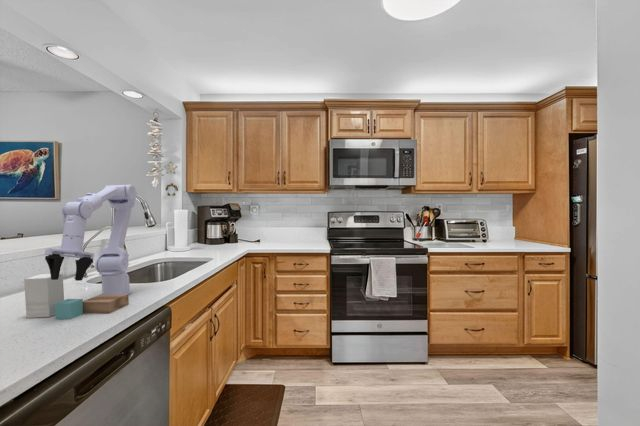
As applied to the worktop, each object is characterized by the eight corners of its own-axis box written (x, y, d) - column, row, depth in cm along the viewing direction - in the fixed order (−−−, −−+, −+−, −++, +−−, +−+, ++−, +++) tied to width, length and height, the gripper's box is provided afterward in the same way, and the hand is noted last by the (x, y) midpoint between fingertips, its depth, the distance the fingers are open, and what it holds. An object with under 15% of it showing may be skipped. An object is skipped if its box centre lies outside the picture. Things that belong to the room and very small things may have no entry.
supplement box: (65, 310, 117) (64, 272, 116) (49, 317, 109) (47, 277, 109) (43, 311, 117) (41, 273, 116) (25, 318, 109) (23, 278, 109)
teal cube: (68, 314, 113) (68, 298, 113) (83, 314, 112) (82, 298, 112) (55, 319, 108) (54, 303, 108) (70, 319, 107) (69, 303, 107)
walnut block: (101, 305, 123) (101, 294, 123) (128, 305, 122) (128, 294, 122) (80, 314, 113) (79, 302, 113) (109, 314, 112) (108, 302, 112)
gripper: (59, 233, 105) (51, 278, 102) (102, 239, 118) (97, 280, 115) (43, 234, 107) (35, 279, 104) (87, 241, 121) (82, 281, 117)
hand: (66, 280), depth 110 cm, fingers open, 7 cm apart
